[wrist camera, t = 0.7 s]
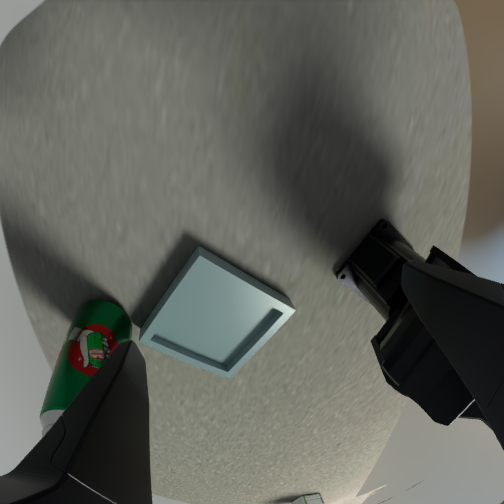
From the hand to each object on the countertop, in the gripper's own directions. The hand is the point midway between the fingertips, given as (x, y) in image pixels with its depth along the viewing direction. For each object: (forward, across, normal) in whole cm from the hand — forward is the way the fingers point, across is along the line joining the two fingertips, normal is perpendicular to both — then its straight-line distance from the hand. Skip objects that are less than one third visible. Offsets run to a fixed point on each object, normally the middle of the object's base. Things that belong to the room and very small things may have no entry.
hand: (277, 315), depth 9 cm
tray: (+13, +3, +9) cm, 16 cm away
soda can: (+13, +12, +7) cm, 19 cm away
